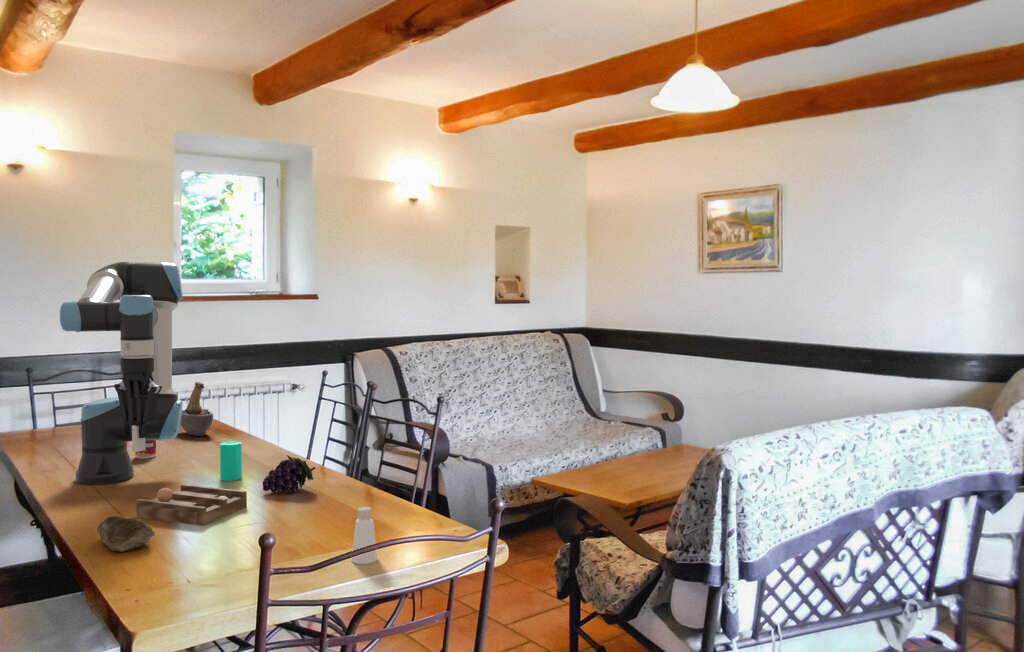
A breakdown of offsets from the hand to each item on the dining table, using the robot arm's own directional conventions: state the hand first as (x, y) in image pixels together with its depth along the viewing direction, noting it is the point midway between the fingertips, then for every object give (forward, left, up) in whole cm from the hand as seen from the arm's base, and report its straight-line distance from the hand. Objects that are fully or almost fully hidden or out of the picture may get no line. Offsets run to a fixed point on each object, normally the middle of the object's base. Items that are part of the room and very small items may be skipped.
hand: (138, 450), depth 194 cm
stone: (+16, -21, -16) cm, 31 cm away
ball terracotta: (+8, 0, -11) cm, 13 cm away
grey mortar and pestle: (-55, +84, -16) cm, 102 cm away
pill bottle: (-44, +48, -16) cm, 67 cm away
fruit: (+24, +29, -16) cm, 41 cm away
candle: (0, +35, -16) cm, 38 cm away
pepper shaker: (+70, -11, -16) cm, 72 cm away
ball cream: (+19, +8, -14) cm, 24 cm away
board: (+13, +4, -15) cm, 20 cm away
